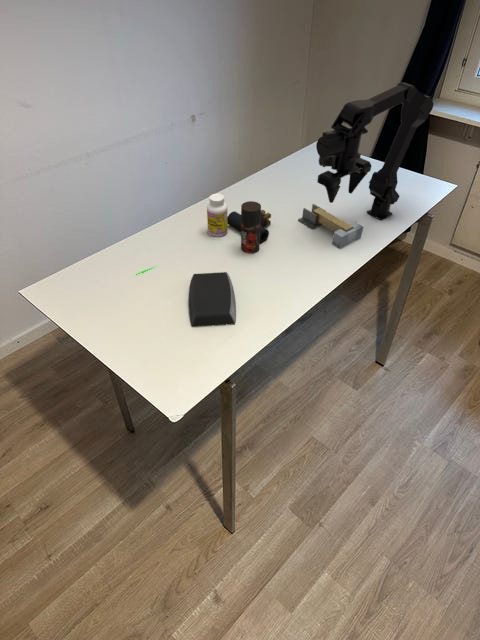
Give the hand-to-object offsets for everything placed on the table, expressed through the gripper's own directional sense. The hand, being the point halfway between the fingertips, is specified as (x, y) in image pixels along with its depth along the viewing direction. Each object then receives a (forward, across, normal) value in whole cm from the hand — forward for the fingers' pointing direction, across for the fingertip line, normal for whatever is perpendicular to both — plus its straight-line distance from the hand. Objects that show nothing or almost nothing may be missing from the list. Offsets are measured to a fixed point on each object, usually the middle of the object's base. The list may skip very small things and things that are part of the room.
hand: (340, 197), depth 142 cm
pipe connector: (+12, +21, -18) cm, 30 cm away
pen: (+12, +63, -21) cm, 67 cm away
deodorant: (+12, +29, -10) cm, 33 cm away
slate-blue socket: (+12, +2, +7) cm, 14 cm away
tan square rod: (+10, +2, 0) cm, 10 cm away
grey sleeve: (+12, +2, -8) cm, 15 cm away
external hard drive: (+12, +54, +3) cm, 56 cm away
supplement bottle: (+12, +32, -24) cm, 41 cm away
